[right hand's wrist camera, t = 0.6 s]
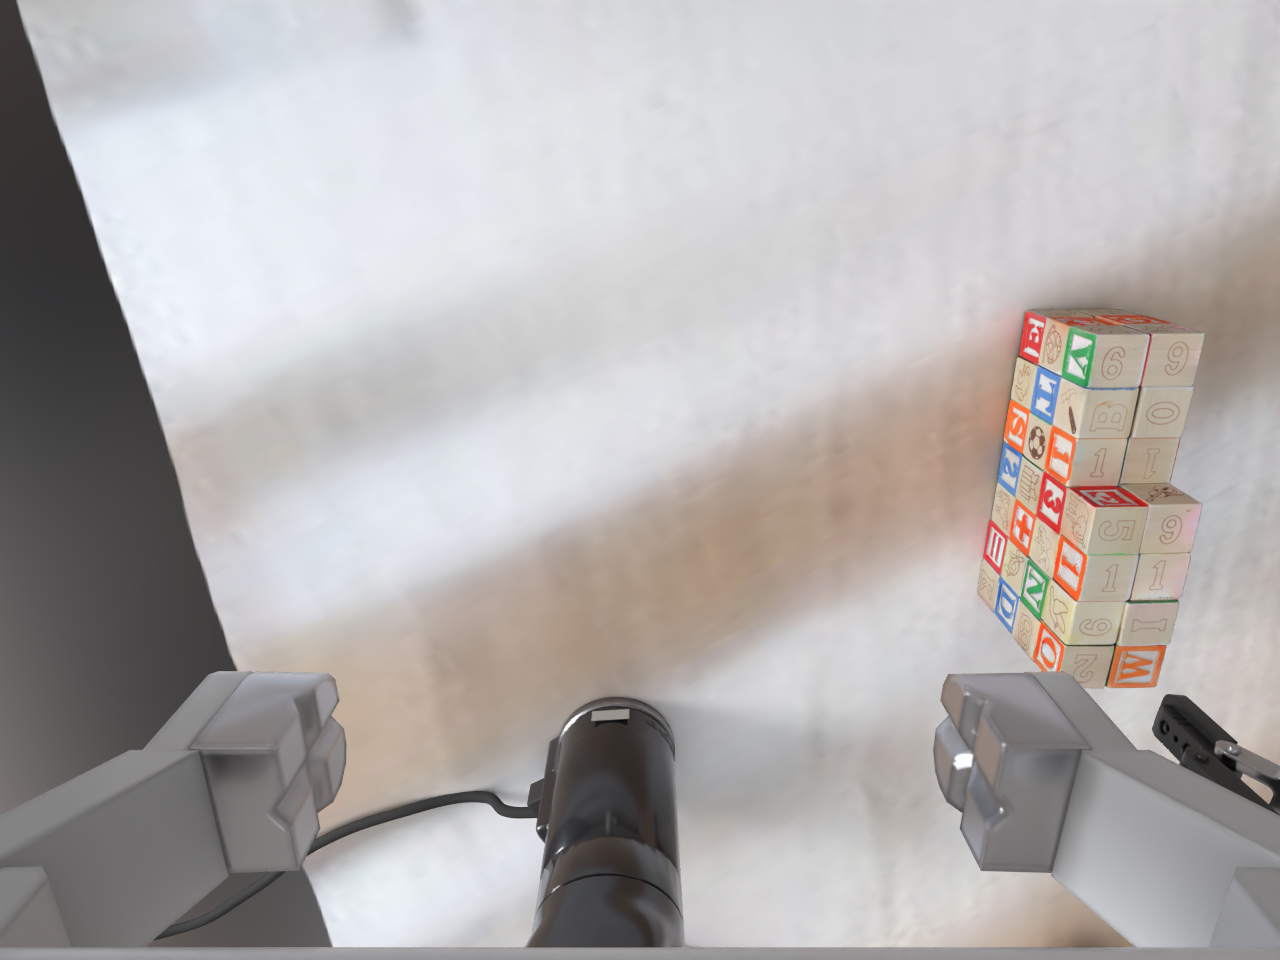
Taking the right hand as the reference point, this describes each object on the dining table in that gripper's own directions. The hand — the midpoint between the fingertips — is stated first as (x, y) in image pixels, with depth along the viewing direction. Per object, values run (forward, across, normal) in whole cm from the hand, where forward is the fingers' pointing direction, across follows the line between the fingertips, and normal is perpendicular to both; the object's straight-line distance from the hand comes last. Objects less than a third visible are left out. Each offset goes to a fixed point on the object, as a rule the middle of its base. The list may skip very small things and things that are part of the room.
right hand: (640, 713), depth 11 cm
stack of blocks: (+44, -28, +12) cm, 54 cm away
